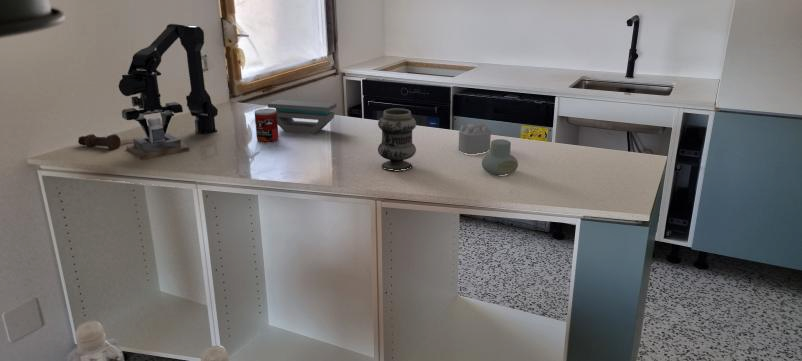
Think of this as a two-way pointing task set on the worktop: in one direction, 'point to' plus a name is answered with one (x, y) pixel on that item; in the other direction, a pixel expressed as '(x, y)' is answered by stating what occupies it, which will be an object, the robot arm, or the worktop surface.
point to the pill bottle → (155, 130)
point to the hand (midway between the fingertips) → (156, 135)
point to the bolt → (100, 141)
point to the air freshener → (500, 158)
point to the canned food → (266, 125)
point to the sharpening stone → (302, 115)
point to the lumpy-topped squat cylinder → (474, 138)
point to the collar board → (154, 154)
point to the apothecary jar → (397, 138)
